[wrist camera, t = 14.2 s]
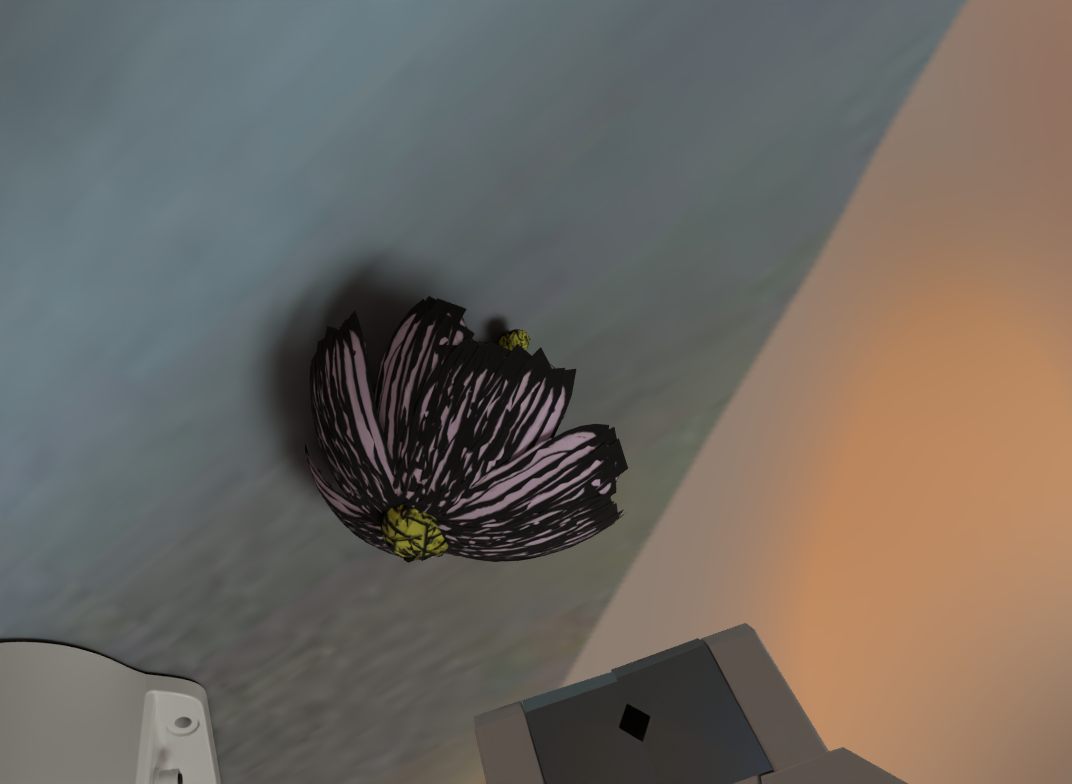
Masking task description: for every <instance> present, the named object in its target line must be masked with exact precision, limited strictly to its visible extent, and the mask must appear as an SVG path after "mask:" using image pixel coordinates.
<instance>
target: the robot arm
mask: <svg viewBox="0 0 1072 784" xmlns="http://www.w3.org/2000/svg"><path fill="white" fill-rule="evenodd" d="M522 702H523V704H522ZM522 702H521V701H518V702H515V703H513V704H510V705H507V706H504V707H501V708H498V709H495V710H492V711H489V712H486V713H483V714H480V715H477V716H474V722H475V734H476V739H477V743H478V748H479V752H480V757H481V761H482V766H483V770H484V775H485V779H486V784H908V783H906V782H904V781H902V780H901V779H899V778H897V777H895V776H893V775H892V774H890V773H888V772H886V771H884V770H883V769H881V768H879V767H878V766H876V765H874V764H872V763H870V762H869V761H867V760H865V759H863V758H861V757H860V756H858V755H856V754H854V753H852V752H851V751H849V750H847V749H845V748H843V747H842V748H839V749H835V750H832V751H828V749H827V748H826V746H825V745H824V743H823V741H822V740H821V738H820V736H819V735H818V733H817V731H816V730H815V728H814V726H813V725H812V723H811V722H810V720H809V718H808V717H807V715H806V713H805V712H804V710H803V708H802V707H801V705H800V703H799V702H798V700H797V699H796V697H795V695H794V694H793V692H792V690H791V689H790V687H789V685H788V684H787V682H786V681H785V679H784V677H783V676H782V674H781V672H780V671H779V669H778V667H777V666H776V664H775V663H774V661H773V659H772V658H771V656H770V654H769V653H768V651H767V649H766V648H765V646H764V644H763V643H762V641H761V640H760V638H759V636H758V635H757V633H756V632H755V630H754V629H753V628H752V627H750V626H749V625H748V624H746V623H744V624H741V625H738V626H735V627H732V628H730V629H727V630H724V631H721V632H718V633H716V634H713V635H710V636H707V637H704V638H702V639H701V640H699V639H695V640H692V641H689V642H687V643H684V644H681V645H679V646H676V647H673V648H670V649H667V650H665V651H662V652H659V653H656V654H654V655H651V656H648V657H646V658H643V659H640V660H637V661H634V662H631V663H629V664H626V665H623V666H620V667H618V668H615V669H612V670H611V672H610V673H607V674H603V675H600V676H597V677H594V678H591V679H588V680H585V681H581V682H578V683H575V684H572V685H569V686H566V687H562V688H559V689H556V690H553V691H550V692H547V693H544V694H540V695H537V696H534V697H531V698H528V699H525V700H522ZM523 706H524V707H523ZM0 784H221V780H220V774H219V768H218V762H217V756H216V750H215V744H214V738H213V732H212V726H211V720H210V714H209V708H208V702H207V696H206V692H205V690H204V689H203V687H201V686H200V685H199V684H197V683H195V682H192V681H188V680H184V679H179V678H173V677H165V676H157V675H148V674H144V673H141V672H138V671H135V670H133V669H130V668H128V667H126V666H124V665H122V664H120V663H117V662H115V661H113V660H111V659H109V658H106V657H103V656H101V655H98V654H95V653H92V652H89V651H85V650H82V649H78V648H73V647H68V646H63V645H56V644H48V643H36V642H6V643H0Z"/></svg>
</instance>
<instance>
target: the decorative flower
mask: <svg viewBox="0 0 1072 784" xmlns="http://www.w3.org/2000/svg"><path fill="white" fill-rule="evenodd" d="M465 311H466V309H465V308H462V307H460V306H457V305H454V304H451V303H449V302H446V301H443V300H440V299H437V300H435V299H434V298H432V297H430V296H429V297H428V298H427V299H426V301H424V299H423V300H421V301H420V302H419V303H418V304H417V305H415V306H414V307H413V308H412V309H411V310H410V311H409V312H408V314H407V315H406V316H405V317H404V318H403V320H402V321H401V323H400V324H399V326H398V327H397V329H396V331H395V332H394V334H393V336H392V339H391V341H390V343H389V346H388V348H387V350H386V352H385V354H384V357H383V359H382V361H381V364H380V368H379V373H378V377H377V381H376V386H375V390H374V392H373V388H372V383H371V379H370V371H369V365H368V360H367V355H366V345H365V340H364V338H363V336H362V331H361V328H360V324H359V321H358V318H357V315H356V312H355V311H354V312H353V314H352V315H351V316H350V318H349V319H348V320H345V321H344V323H343V324H342V326H341V327H339V328H337V329H335V328H332V327H329V326H328V327H327V331H326V335H325V338H324V339H322V340H320V341H318V345H317V352H316V353H315V355H314V357H313V359H312V361H311V368H310V395H311V407H312V413H313V420H314V425H315V429H316V433H317V437H318V441H319V445H320V448H321V451H322V453H323V455H324V457H325V459H326V462H327V464H328V466H329V468H330V471H331V473H332V475H333V476H334V477H335V479H336V481H337V483H338V484H339V486H340V488H341V489H342V490H343V491H344V492H345V493H346V495H347V496H348V498H349V499H350V500H349V499H347V498H346V497H344V496H343V495H341V494H340V493H338V492H337V491H335V490H334V489H333V488H332V487H331V485H330V484H329V483H328V482H326V481H325V479H324V478H323V477H322V475H321V472H320V470H318V469H317V468H316V466H315V465H314V463H313V462H312V460H311V458H310V456H309V453H308V450H307V447H306V444H305V452H306V455H307V461H308V464H309V466H310V469H311V471H312V475H313V477H314V480H315V483H316V486H317V488H318V490H319V491H320V493H321V494H322V496H323V498H324V499H325V501H326V502H327V504H328V505H329V507H330V508H331V510H332V511H333V512H334V514H335V515H336V516H337V517H338V518H339V520H340V521H341V522H342V523H343V524H344V525H345V526H346V527H347V528H349V529H350V530H351V531H352V532H353V533H354V534H355V535H356V536H358V537H359V538H361V539H362V540H364V541H365V542H366V543H368V544H370V545H373V546H374V547H377V548H378V549H381V550H383V551H385V552H387V553H389V554H393V555H396V556H400V557H401V558H404V560H405V561H407V562H408V563H409V562H411V561H414V560H422V561H423V560H425V559H427V558H430V557H440V556H442V555H443V554H444V553H446V554H452V555H454V556H462V557H466V558H471V559H476V560H483V561H492V562H499V561H519V560H526V559H531V558H536V557H540V556H545V555H548V554H552V553H555V552H558V551H562V550H564V549H567V548H570V547H572V546H575V545H577V544H579V543H581V542H583V541H585V540H587V539H589V538H591V537H593V536H594V535H596V534H598V533H600V532H601V531H603V530H604V529H606V528H607V527H609V526H611V525H612V524H614V522H615V521H616V520H618V519H619V518H620V517H622V516H623V515H622V516H620V514H621V513H622V511H623V510H624V509H623V510H622V511H620V512H619V513H618V512H617V504H616V503H615V504H614V501H613V502H612V501H611V498H610V497H611V496H612V495H613V494H615V493H616V482H617V480H618V477H619V475H620V474H621V473H623V472H624V471H625V470H627V469H628V466H627V463H626V460H625V457H624V454H623V450H622V447H621V444H620V441H619V439H618V440H617V438H616V433H615V428H614V427H613V428H611V429H609V425H602V424H591V425H584V426H580V427H577V428H574V429H571V430H568V431H566V432H564V433H562V434H560V435H558V436H556V437H555V438H554V436H555V434H556V431H557V429H558V427H559V425H560V422H561V421H562V419H563V418H564V415H565V412H566V410H567V407H568V404H569V401H570V398H571V395H572V390H573V385H574V379H575V373H576V369H571V370H565V368H557V369H555V368H554V367H553V366H552V365H551V364H549V362H548V360H547V358H546V356H545V354H544V352H543V350H542V349H541V348H540V349H539V350H538V351H537V352H536V353H535V354H534V355H533V356H531V355H530V354H529V353H528V352H527V351H525V350H526V349H527V348H528V345H529V342H530V338H529V336H528V335H527V333H526V332H525V331H524V330H520V329H514V330H512V331H511V332H509V333H508V332H507V333H504V334H503V335H501V337H500V338H499V341H498V345H496V344H494V343H491V342H488V345H486V344H485V343H483V342H481V343H480V342H475V341H474V340H473V339H472V337H473V335H474V333H473V332H472V331H470V330H469V329H467V327H466V324H465V322H464V319H463V317H462V316H463V314H464V313H465ZM613 504H614V505H613ZM625 514H626V513H625ZM619 516H620V517H619Z"/></svg>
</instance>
